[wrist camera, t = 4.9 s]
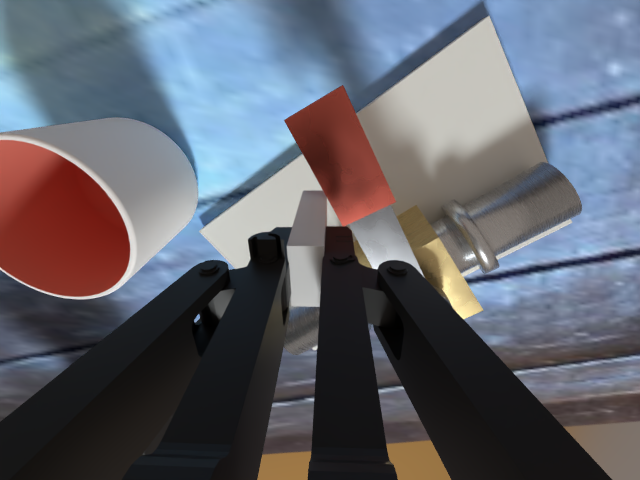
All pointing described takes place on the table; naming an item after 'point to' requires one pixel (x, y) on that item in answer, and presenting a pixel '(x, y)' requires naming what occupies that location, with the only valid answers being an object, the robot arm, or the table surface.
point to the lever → (351, 177)
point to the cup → (89, 203)
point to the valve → (466, 240)
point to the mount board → (415, 145)
